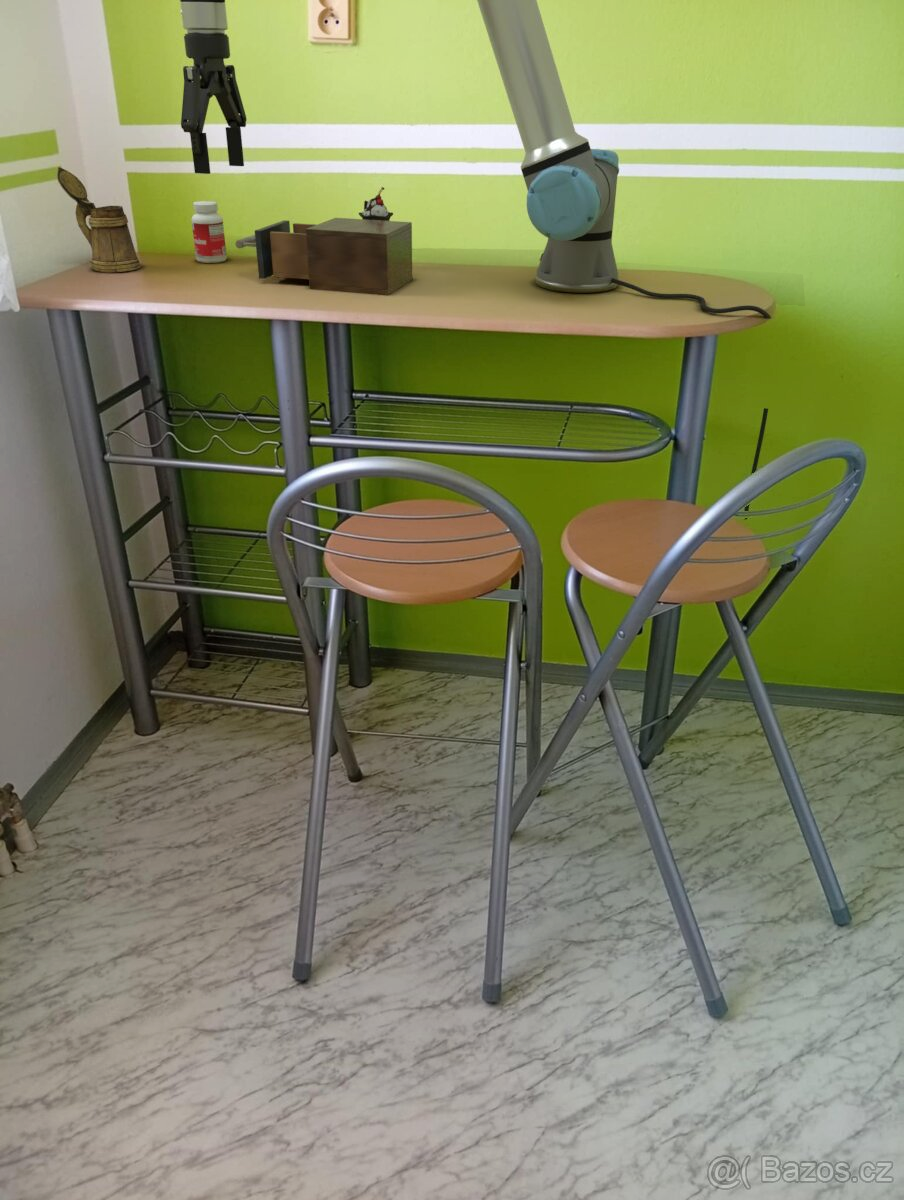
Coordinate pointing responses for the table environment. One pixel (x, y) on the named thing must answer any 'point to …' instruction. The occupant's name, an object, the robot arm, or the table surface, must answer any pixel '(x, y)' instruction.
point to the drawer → (280, 250)
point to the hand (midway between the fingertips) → (220, 169)
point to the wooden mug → (102, 229)
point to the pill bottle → (208, 233)
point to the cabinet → (359, 255)
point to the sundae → (375, 209)
